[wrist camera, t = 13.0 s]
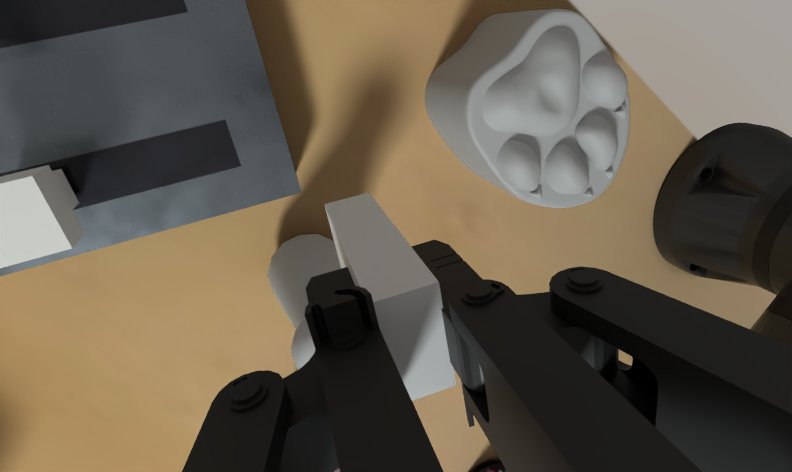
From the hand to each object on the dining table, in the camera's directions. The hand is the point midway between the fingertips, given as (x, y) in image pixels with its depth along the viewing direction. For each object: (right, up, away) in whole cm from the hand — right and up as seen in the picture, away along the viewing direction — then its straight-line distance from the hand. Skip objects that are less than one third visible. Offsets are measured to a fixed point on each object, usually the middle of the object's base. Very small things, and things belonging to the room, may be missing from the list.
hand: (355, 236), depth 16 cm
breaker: (-17, +2, +10) cm, 20 cm away
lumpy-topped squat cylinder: (+10, +10, +21) cm, 25 cm away
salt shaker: (-6, -2, +21) cm, 22 cm away
